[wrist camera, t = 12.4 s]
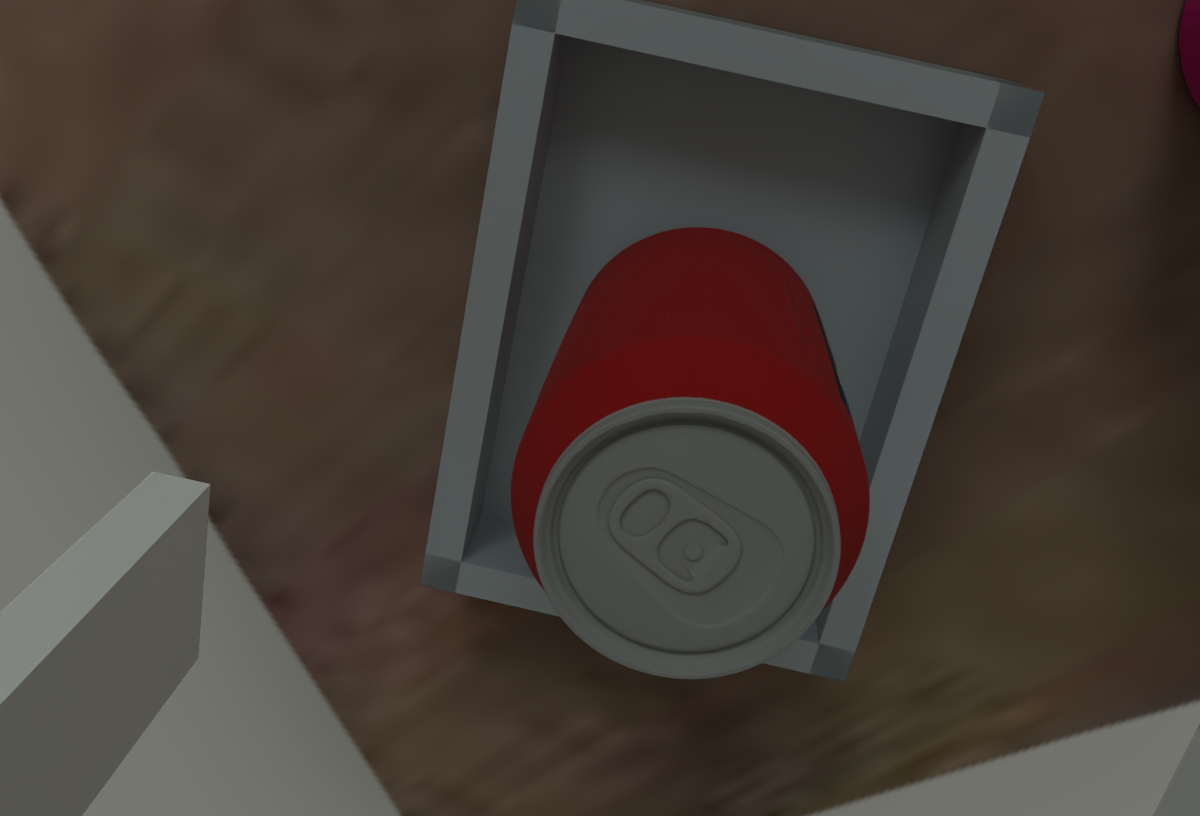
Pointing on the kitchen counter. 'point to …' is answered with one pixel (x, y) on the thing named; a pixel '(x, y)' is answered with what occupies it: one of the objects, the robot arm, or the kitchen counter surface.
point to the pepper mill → (1191, 47)
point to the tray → (734, 203)
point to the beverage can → (692, 461)
